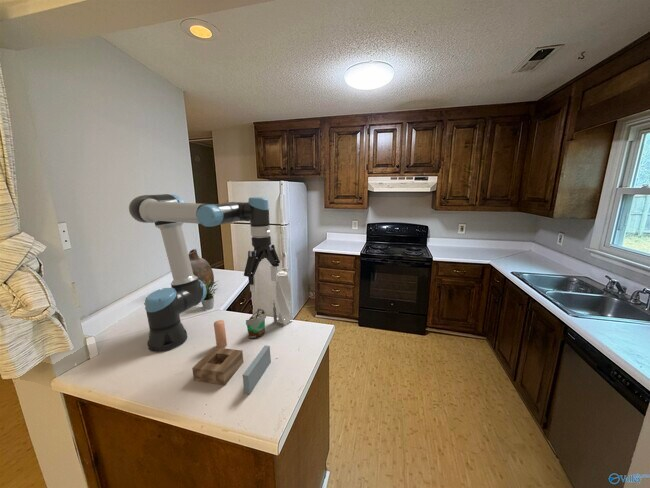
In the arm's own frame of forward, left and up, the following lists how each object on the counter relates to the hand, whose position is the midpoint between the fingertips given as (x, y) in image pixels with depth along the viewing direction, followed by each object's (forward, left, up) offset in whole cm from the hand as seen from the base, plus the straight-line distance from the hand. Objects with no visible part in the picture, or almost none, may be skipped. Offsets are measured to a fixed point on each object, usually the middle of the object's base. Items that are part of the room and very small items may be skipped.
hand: (264, 285), depth 109 cm
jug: (-70, +43, -26) cm, 87 cm away
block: (-9, -23, -24) cm, 34 cm away
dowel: (-17, -9, -26) cm, 32 cm away
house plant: (-47, +25, -26) cm, 60 cm away
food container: (-6, +4, -26) cm, 27 cm away
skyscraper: (+1, +17, -26) cm, 31 cm away
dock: (-4, -23, -26) cm, 35 cm away
